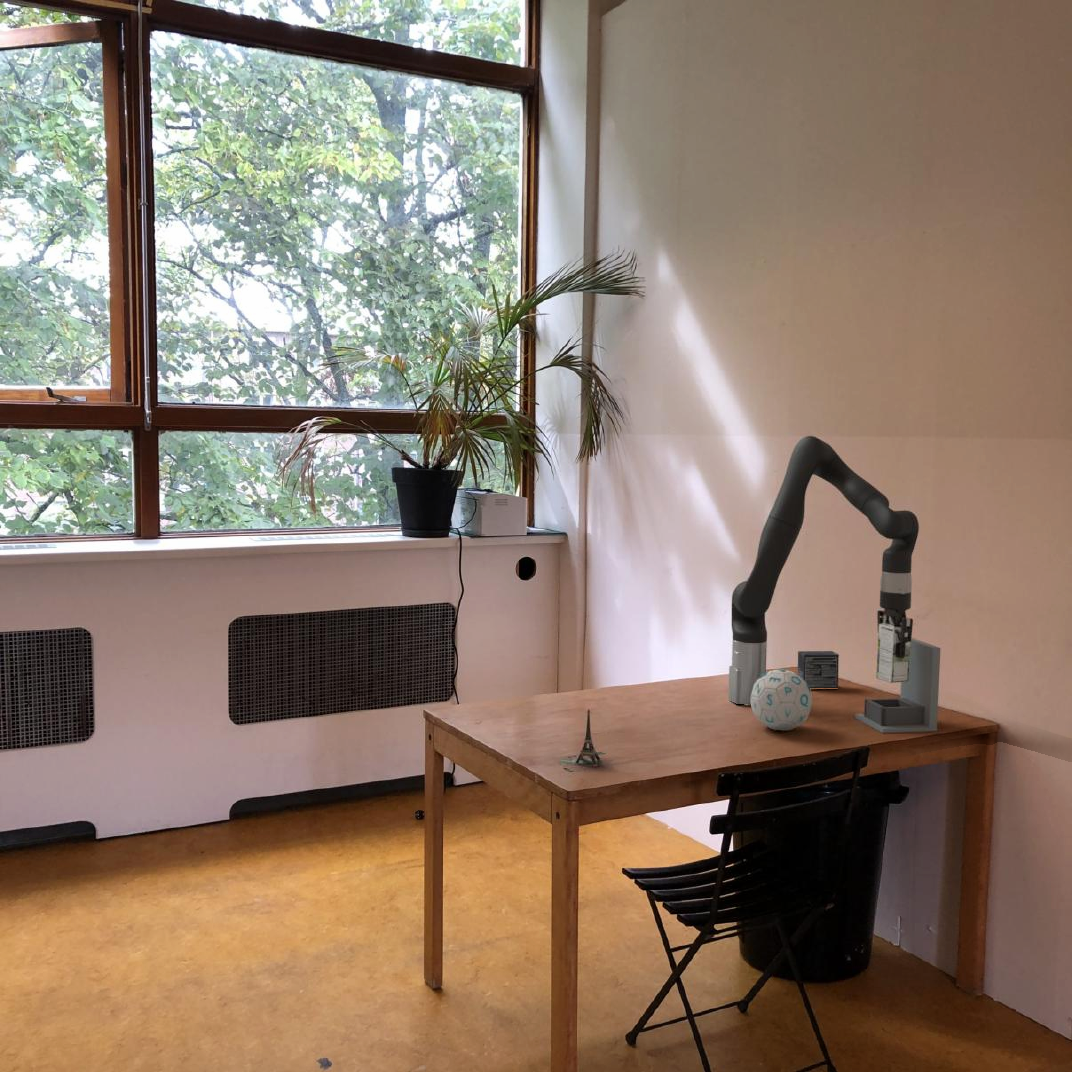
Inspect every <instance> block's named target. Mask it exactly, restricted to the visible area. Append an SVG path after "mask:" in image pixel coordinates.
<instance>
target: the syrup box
mask: <svg viewBox="0 0 1072 1072" xmlns="http://www.w3.org/2000/svg"><path fill="white" fill-rule="evenodd" d="M896 629H897V630H901V627H893V626H891V624H888V623H887V624H885V623H883V624H879V632H878V631H877V633H878V635H877V654H876V655H877V656H876V658H877V659H876V675H875V676H876V680H880V681H883V682H887V683H891V684H894V683H901V682H905V681H909V663H910V644H911V642H907V643H906V644H905V657H904V658H897V657H896V643H897V642H896V634H895V632H894V631H895V630H896ZM907 635H908V633H906V636H907ZM899 637H900V634H899Z"/></svg>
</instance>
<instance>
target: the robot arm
mask: <svg viewBox="0 0 1072 1072" xmlns="http://www.w3.org/2000/svg"><path fill="white" fill-rule="evenodd" d="M813 475H814V476H817V477H818V478H821V479H822V480H824V481H826V482H828V483H829V484H831V485H832V486H833V487H835V489H837V490H838V491H839V493H841V494H842V495H843V497H844V498H845V500H846V501H848V502H849V503H850V505H852V506H853V507H854V508H855V509H856V510H858V511H859V512H860V514H861V513H862V514H863V515H864V516H865V517H866V518H867V519H868V522H869V523H870V524H871V525H872V527H873V528H874V529H875V530H876V531H877V532H878V534H880V535H881V536H883V537H884V538H885V539H889V540H892V542H891V544H890V546H889V547H887V548H886V549H884V551H883V553H882V558H881V559H882V561H881V562H882V564H881V577H880V583H879V586H880V587H879V607H880V608H881V610H877V615H876V616H877V633H878V632H879V624H883V623H885V624H887V623H888V624H891V626H893V627H901V630H897V629H896V630H895V631H894V632H895V634H896V642H897V643H896V657H897V658H904V657H905V644H906V643H907V642H911V638H913V637H912V635H913V624H914V619H913V617H911V618H908V617H907V613H906V611H908V610H910V609H911V608H912V589H913V588H912V587H913V584H912V583H913V582H912V581H913V579H912V563H913V562H912V556H913V554H914V550H915V547H916V543H917V540H918V535H919V530H920V525H919V521H918V520H919V519H918V518H917V515H916V514H915V513H914V512H912V511H910V510H893V509H892V508H890V501H889V499H888V497H887V496H886V495H885V494H884V493H882V492H881V491H880V490H878V489H877V488H876V487H875V486H873V485H872V484H871V483H869V482H868V481H867V480H865V479H864V478H863V477H861V476H860V475H859V474H857V473H856V472H855V471H854V470H853V469H851V467H850V466H848V464H846V462H845V461H843V459H842V458H841V457H840V455H839V454H838V453H837V452H836V450H835V449H833V447H832V445H830V444H829V443H827V442H826V441H824V440H823V439H820V438H818V437H817V436H813V435H807V436H804V437H802V438H801V439H799V440H798V441H797V443H796V444H795V446H794V448H793V450H792V452H791V455H790V458H789V462H788V465H787V467H786V471H785V474H784V478H783V482H782V483H781V486H780V488H779V491H778V493H777V495H776V498H775V500H774V504H773V505H772V507H771V510H770V511H769V515H768V516H767V519H766V521H765V523H764V525H763V529H762V531H761V534H760V539H759V543H758V547H757V552H756V558H755V563H754V566H753V568H752V570H751V572H750V574H749V576H748V578H747V580H745V581H741V582H740V583H738V584H737V585H736V587H734V590H733V591H732V595H731V631H732V646H731V648H732V650H731V651H732V652H731V653H732V655H731V665H729V667H728V668H729V669H728V698H727V699H729V700H728V701H730V702H731V701H732V702H731V703H733V702H734V703H736V704H748V705H747V706H750V705H751V703H750V699H751V694H752V693H751V691H752V688H753V686H754V684H755V683H756V681H757V680H758V679H759V677H760V676H762V675H763V674H765V673H766V672H767V653H768V652H767V648H768V631H767V627H766V612H767V611H768V610H769V608H770V606H771V603H772V601H773V598H774V593H775V589H776V587H777V584H778V581H779V577H780V575H781V573H782V570H783V568H784V566H785V564H786V562H787V561H788V559H789V556H790V554H791V552H792V549H793V548H794V545H795V543H796V541H797V539H798V537H799V534H800V532H801V529H802V527H803V523H804V519H805V502H806V492H807V489H808V485H809V483H810V482H811V481H810V480H811V479H812V478H813ZM882 609H883V610H882ZM906 633H908V635H907V636H906ZM899 634H900V637H899ZM734 703H733V704H734ZM736 704H735V705H736Z"/></svg>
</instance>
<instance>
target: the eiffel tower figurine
mask: <svg viewBox="0 0 1072 1072" xmlns="http://www.w3.org/2000/svg"><path fill="white" fill-rule="evenodd" d="M586 714H587V720H586V729H585V732H586V733H585V738H584V740H583V741H584V743H583V745H582V748H581V749H580V753H579V754H577V755H571V756H570V755H569V757H575V758H566V759H562V760H560V762H556V763H557V764H558V763H559V765H560V766H567V765H571V764H573V765H574V766H576V765H577V766H584V765H593V766H592V767H595V766H597V765H598V766H599V765H600V763H602V761H603V760H602V759H601V758H600V757H601V756H603V755H606V754H607V753H606V752H604V751H596V748H595V747H594V744H593V738H592V732H591V710H590V709H587V711H586ZM585 757H588V759H584V758H585ZM595 759H596V760H595ZM598 766H597V767H598ZM570 769H571V768H569V769H565V770H567V771H568V772H574V770H573V769H571V770H570Z"/></svg>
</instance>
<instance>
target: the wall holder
mask: <svg viewBox="0 0 1072 1072" xmlns="http://www.w3.org/2000/svg"><path fill="white" fill-rule="evenodd" d="M940 666H941V647H938V646H935V645H934V644H930V643H927V642H925V641H922V640H920V639H916V638H913V637H911V644H910V663H909V681H905V682H900V696H899V698H893V697H892V698H868V699H867V698H865V699H864V709H863V710H864V711H863V712H864V713H854V718H855V719H857V720H858V721H860V722H861V723H864V724H865V725H868V726H869V727H871V728H872V729H875V730H877V731H878V732H880V733H882V734H887V733H889V734H891V733H894V734H896V733H917V732H918V733H920V732H923V733H924V732H937V731H938V714H939V713H938V710H939V693H940V692H939V689H940V686H939V685H940V671H941V670H940V669H941V668H940Z"/></svg>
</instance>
